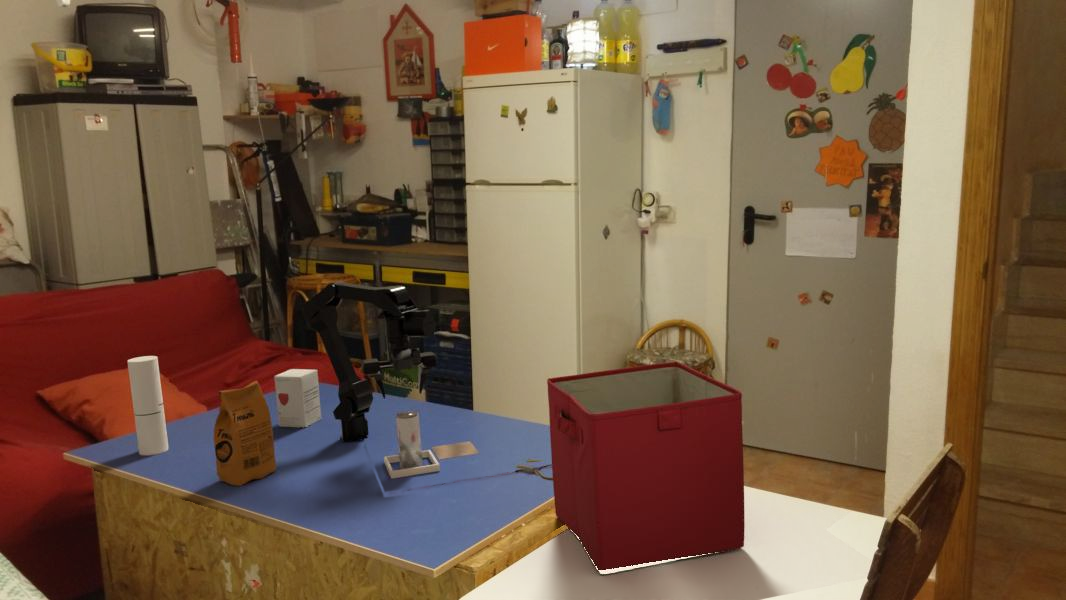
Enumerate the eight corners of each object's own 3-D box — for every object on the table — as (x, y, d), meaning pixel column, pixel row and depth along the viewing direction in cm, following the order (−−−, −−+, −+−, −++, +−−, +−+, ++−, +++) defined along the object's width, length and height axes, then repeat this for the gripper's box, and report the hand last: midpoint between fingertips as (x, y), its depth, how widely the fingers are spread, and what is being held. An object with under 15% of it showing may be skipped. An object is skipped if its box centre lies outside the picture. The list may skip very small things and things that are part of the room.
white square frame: (391, 482, 187) (390, 472, 187) (384, 466, 198) (383, 456, 198) (440, 474, 191) (439, 464, 190) (430, 459, 201) (430, 449, 201)
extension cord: (547, 457, 200) (546, 449, 200) (597, 471, 189) (597, 463, 189) (511, 472, 191) (511, 464, 191) (562, 487, 181) (562, 479, 180)
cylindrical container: (173, 446, 223) (162, 355, 219) (159, 455, 215) (147, 361, 212) (148, 446, 223) (137, 356, 219) (133, 455, 216) (121, 362, 212)
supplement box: (277, 427, 235) (272, 375, 233) (295, 417, 244) (290, 368, 242) (305, 428, 233) (300, 376, 230) (322, 418, 241) (318, 369, 239)
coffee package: (211, 481, 194) (201, 390, 191) (256, 464, 204) (247, 378, 201) (236, 488, 189) (226, 395, 185) (282, 471, 198) (273, 382, 195)
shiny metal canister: (397, 471, 192) (393, 417, 190) (403, 463, 197) (399, 410, 195) (419, 471, 192) (415, 416, 190) (424, 463, 197) (420, 410, 195)
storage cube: (589, 581, 138) (581, 414, 133) (543, 518, 164) (536, 376, 160) (761, 549, 146) (759, 391, 142) (691, 494, 172) (688, 358, 168)
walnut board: (439, 463, 198) (439, 459, 198) (431, 450, 208) (431, 447, 208) (479, 457, 201) (479, 453, 201) (469, 445, 211) (469, 441, 211)
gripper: (363, 346, 199) (369, 408, 201) (439, 337, 205) (444, 398, 207) (358, 338, 210) (364, 397, 212) (431, 330, 215) (435, 388, 217)
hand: (402, 395), depth 212 cm, fingers open, 9 cm apart
